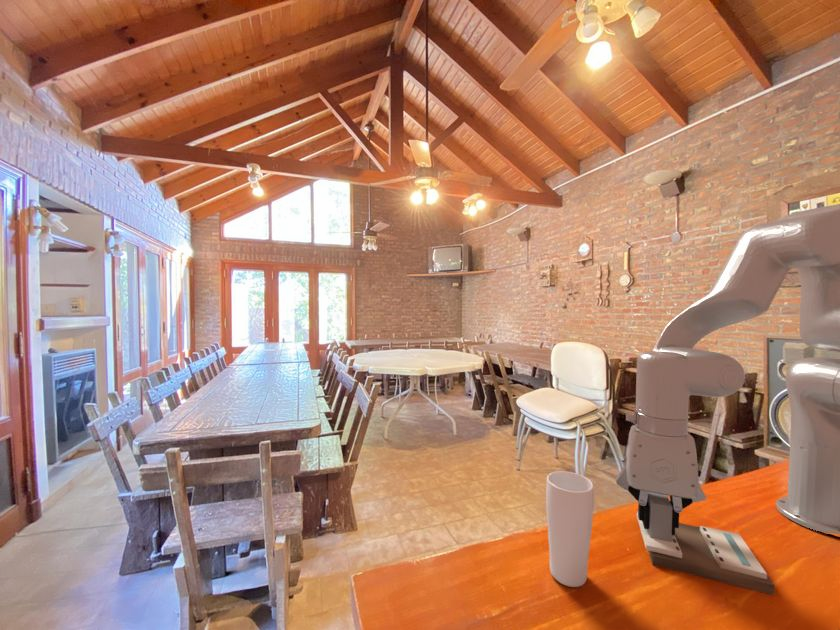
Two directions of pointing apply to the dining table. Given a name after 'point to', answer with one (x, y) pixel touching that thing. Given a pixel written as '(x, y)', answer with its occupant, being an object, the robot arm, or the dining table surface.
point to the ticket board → (716, 558)
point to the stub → (660, 527)
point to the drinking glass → (569, 525)
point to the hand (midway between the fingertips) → (657, 526)
